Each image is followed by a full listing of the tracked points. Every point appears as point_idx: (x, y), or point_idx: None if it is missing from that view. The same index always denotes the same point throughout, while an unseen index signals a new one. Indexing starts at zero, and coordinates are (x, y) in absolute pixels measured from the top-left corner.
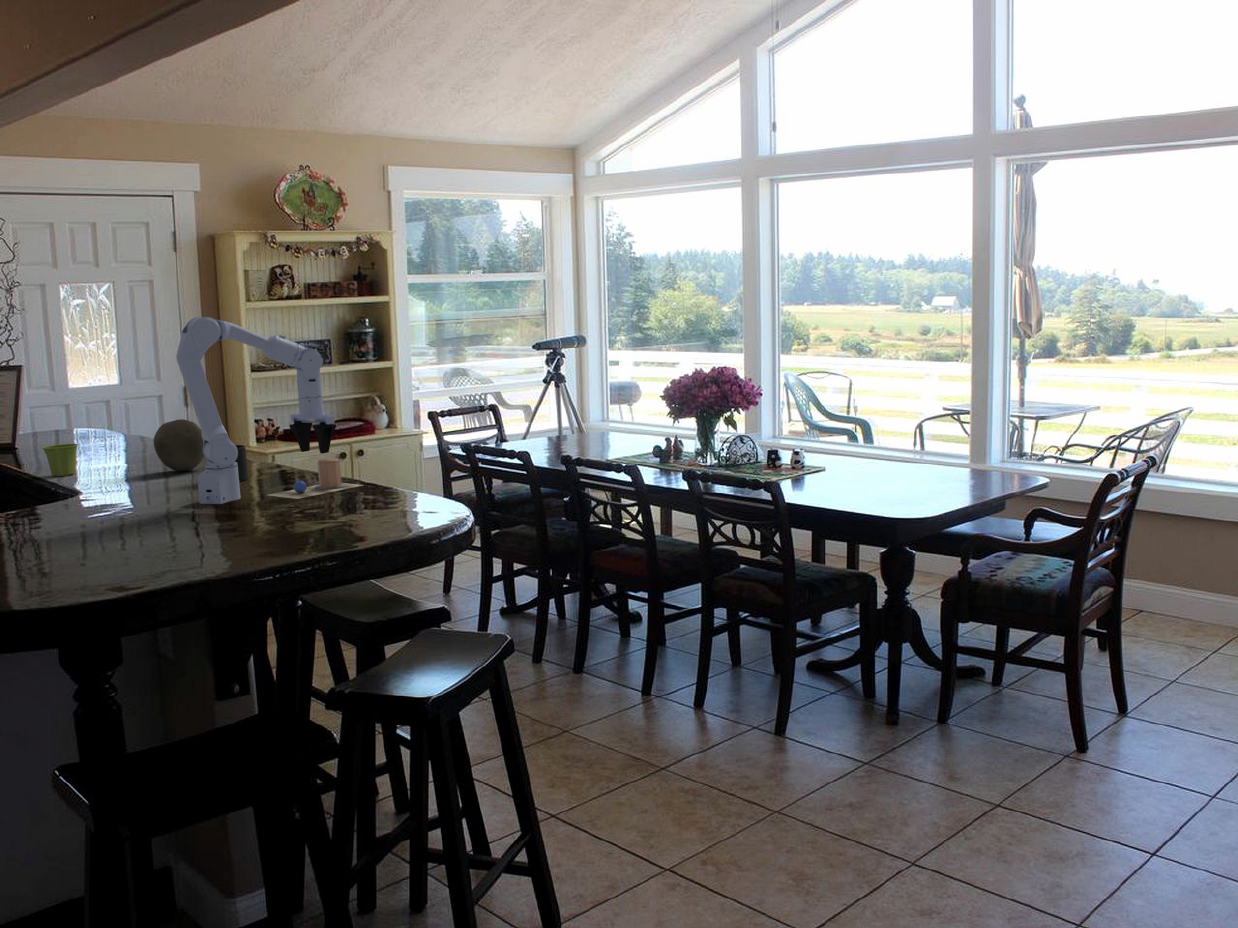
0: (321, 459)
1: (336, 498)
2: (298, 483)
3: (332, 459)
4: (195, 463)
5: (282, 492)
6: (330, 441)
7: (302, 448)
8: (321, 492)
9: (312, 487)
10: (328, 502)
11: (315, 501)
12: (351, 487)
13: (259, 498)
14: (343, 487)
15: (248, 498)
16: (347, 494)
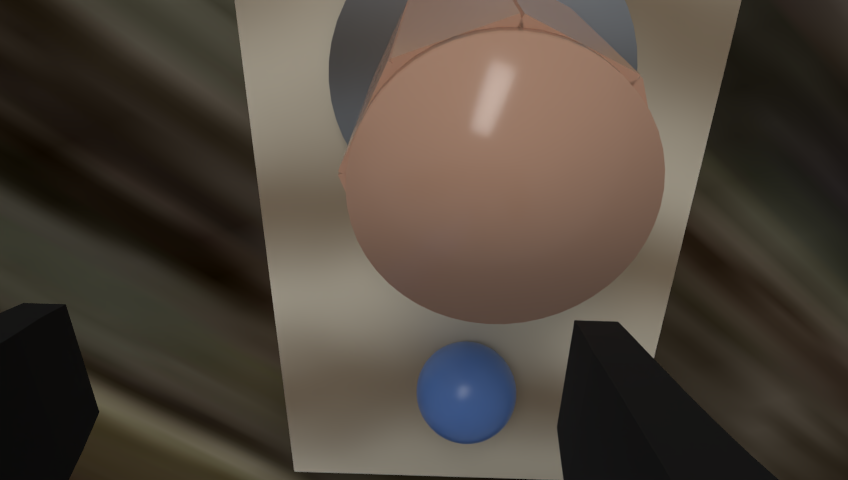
0: (351, 205)
1: (785, 279)
2: (486, 438)
3: (538, 144)
4: None
5: (306, 387)
6: (748, 458)
7: (71, 455)
8: (615, 291)
9: (325, 163)
10: (823, 388)
11: (698, 395)
12: (728, 11)
13: (225, 447)
14: (636, 45)
15: (160, 466)
16: (766, 127)
